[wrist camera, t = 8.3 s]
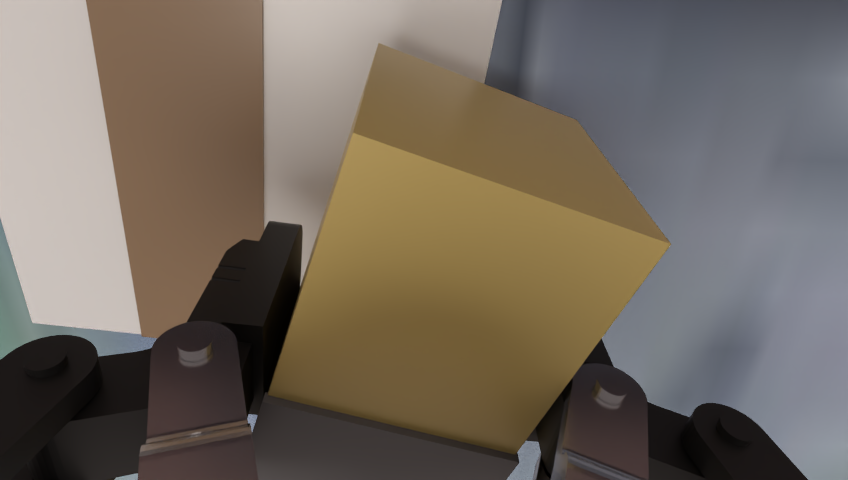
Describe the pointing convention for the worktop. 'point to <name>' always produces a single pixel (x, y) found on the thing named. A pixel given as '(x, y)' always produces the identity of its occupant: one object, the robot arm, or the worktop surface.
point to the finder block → (448, 284)
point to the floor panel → (185, 135)
